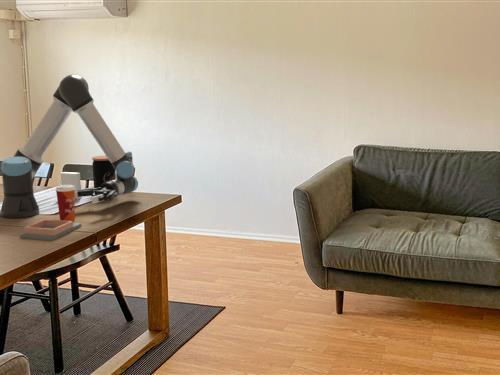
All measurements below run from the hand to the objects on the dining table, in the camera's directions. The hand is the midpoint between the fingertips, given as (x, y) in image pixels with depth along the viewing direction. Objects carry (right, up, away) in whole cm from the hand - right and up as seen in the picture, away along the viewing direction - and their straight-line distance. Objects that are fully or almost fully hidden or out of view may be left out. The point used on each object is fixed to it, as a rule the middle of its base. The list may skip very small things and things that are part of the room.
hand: (79, 199), depth 252 cm
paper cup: (-3, -9, -4) cm, 10 cm away
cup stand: (-4, -12, -21) cm, 25 cm away
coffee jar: (0, +1, +45) cm, 45 cm away
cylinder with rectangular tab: (-13, 0, +36) cm, 39 cm away
